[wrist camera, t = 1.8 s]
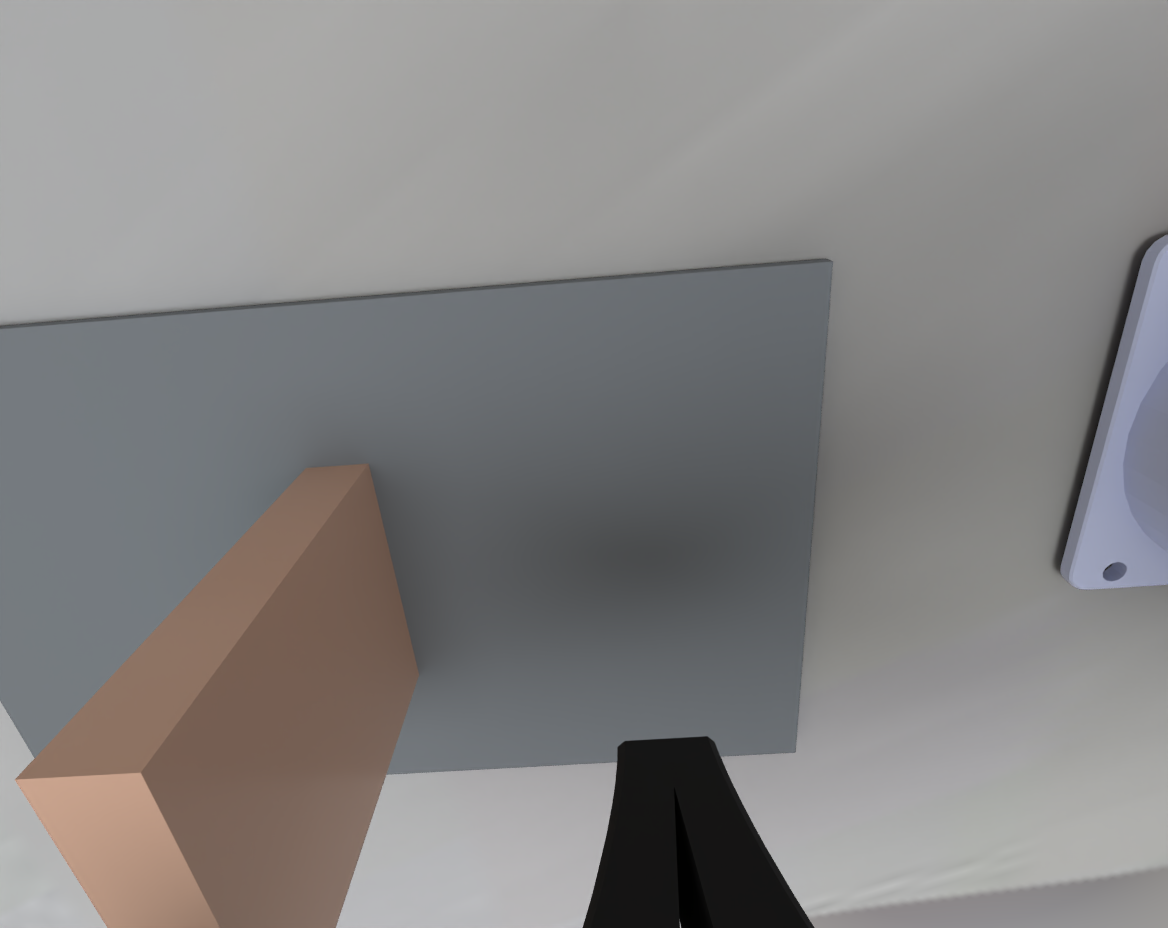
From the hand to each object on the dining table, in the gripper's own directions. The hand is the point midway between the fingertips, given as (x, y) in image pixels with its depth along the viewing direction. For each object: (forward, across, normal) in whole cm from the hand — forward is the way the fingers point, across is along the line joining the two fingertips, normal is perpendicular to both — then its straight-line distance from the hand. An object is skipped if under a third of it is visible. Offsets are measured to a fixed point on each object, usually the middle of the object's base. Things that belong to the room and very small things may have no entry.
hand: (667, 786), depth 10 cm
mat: (+6, +6, 0) cm, 9 cm away
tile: (+6, +6, 0) cm, 9 cm away
